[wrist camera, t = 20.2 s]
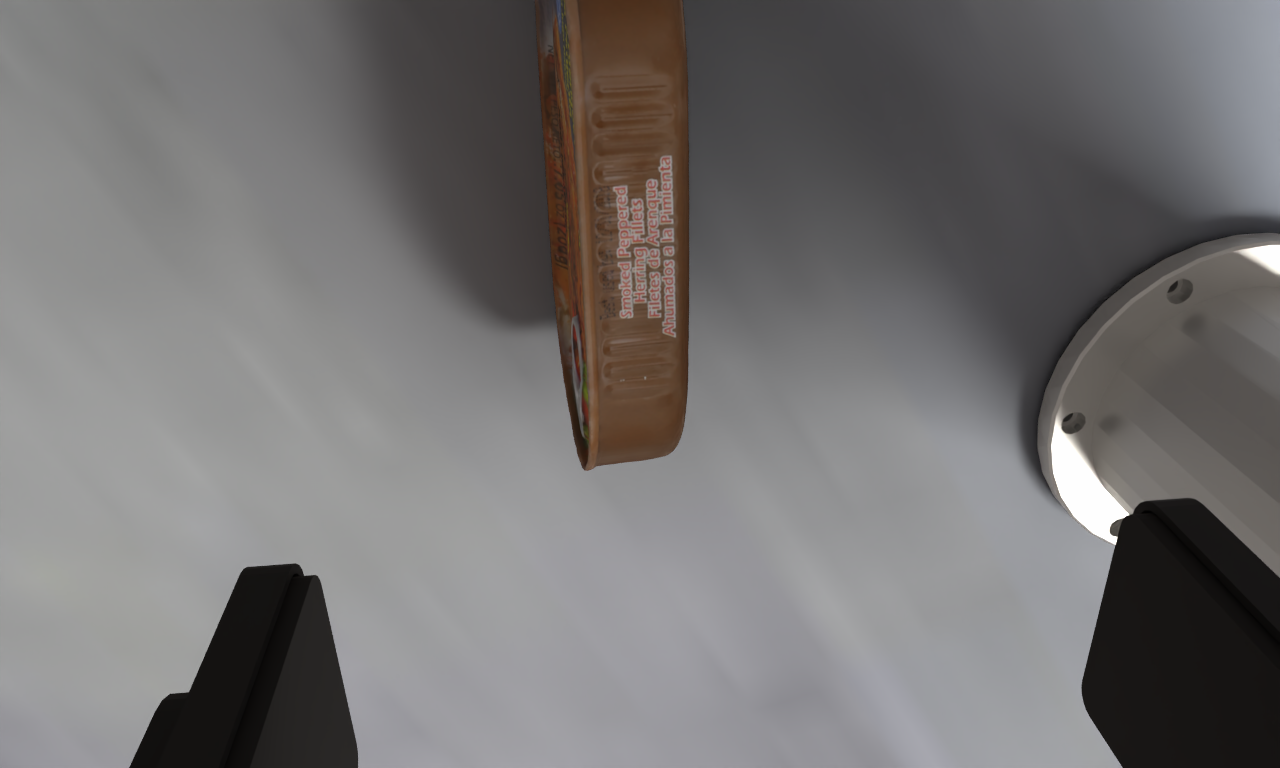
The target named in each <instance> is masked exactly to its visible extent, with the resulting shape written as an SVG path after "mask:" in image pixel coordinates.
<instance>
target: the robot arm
mask: <svg viewBox="0 0 1280 768" xmlns="http://www.w3.org/2000/svg"><path fill="white" fill-rule="evenodd" d="M1037 449H1038V454H1039V458H1040V463H1041V468H1042V473H1043V475H1044V477H1045V479H1046V481H1047V483H1048V485H1049V487H1050V489H1051V491H1052V493H1053V495H1054V496H1055V497H1056V499H1057V500H1058V501H1059V502H1060V504H1061V505H1062V506H1063V507H1064V509H1065V510H1066V511H1067V512H1068V514H1069V515H1070V516H1071V517H1072V518H1073V519H1074V520H1075V521H1076V522H1077V523H1079V524H1080V525H1081V526H1082V527H1083V528H1084V529H1085V530H1087V531H1088V532H1089V533H1090V534H1092V535H1094V536H1096V537H1098V538H1099V539H1101V540H1103V541H1105V542H1107V543H1109V544H1112V545H1115V549H1114V553H1113V557H1112V561H1111V565H1110V570H1109V574H1108V578H1107V582H1106V586H1105V590H1104V594H1103V598H1102V602H1101V606H1100V611H1099V615H1098V619H1097V623H1096V627H1095V631H1094V635H1093V639H1092V643H1091V647H1090V651H1089V656H1088V660H1087V664H1086V668H1085V672H1084V676H1083V680H1082V697H1083V702H1084V705H1085V708H1086V710H1087V712H1088V714H1089V716H1090V718H1091V719H1092V721H1093V722H1094V724H1095V725H1096V727H1097V729H1098V730H1099V732H1100V733H1101V735H1102V736H1103V738H1104V739H1105V741H1106V742H1107V744H1108V746H1109V747H1110V749H1111V750H1112V752H1113V753H1114V755H1115V756H1116V758H1117V759H1118V761H1119V763H1120V764H1121V766H1122V767H1123V768H1280V234H1276V233H1257V234H1241V235H1233V236H1229V237H1225V238H1221V239H1217V240H1213V241H1209V242H1205V243H1201V244H1198V245H1196V246H1194V247H1191V248H1189V249H1187V250H1184V251H1182V252H1180V253H1177V254H1175V255H1172V256H1170V257H1168V258H1166V259H1164V260H1162V261H1161V262H1159V263H1157V264H1156V265H1154V266H1152V267H1151V268H1149V269H1148V270H1146V271H1144V272H1143V273H1141V274H1139V275H1138V276H1136V277H1134V278H1133V279H1132V280H1130V281H1129V282H1128V283H1127V284H1126V285H1124V286H1123V287H1122V288H1121V289H1120V290H1118V291H1117V292H1116V293H1115V294H1113V295H1112V296H1111V297H1110V298H1109V299H1107V300H1106V301H1105V302H1104V303H1103V304H1102V305H1101V306H1100V307H1099V308H1098V309H1097V310H1096V312H1095V313H1094V314H1093V315H1092V316H1091V317H1090V318H1089V319H1088V320H1087V321H1086V323H1085V324H1084V325H1083V326H1082V327H1081V328H1080V329H1079V330H1078V332H1077V333H1076V335H1075V336H1074V338H1073V339H1072V341H1071V342H1070V344H1069V345H1068V347H1067V348H1066V350H1065V351H1064V353H1063V354H1062V356H1061V357H1060V359H1059V361H1058V363H1057V365H1056V367H1055V370H1054V372H1053V374H1052V376H1051V379H1050V381H1049V383H1048V385H1047V387H1046V390H1045V394H1044V398H1043V402H1042V406H1041V410H1040V414H1039V418H1038V440H1037ZM129 768H358V750H357V743H356V739H355V734H354V730H353V725H352V721H351V716H350V712H349V707H348V703H347V698H346V694H345V689H344V685H343V680H342V676H341V671H340V667H339V662H338V658H337V653H336V649H335V644H334V640H333V635H332V630H331V626H330V621H329V617H328V612H327V608H326V603H325V599H324V594H323V590H322V585H321V582H320V579H319V578H318V576H316V575H311V576H304V574H303V571H302V569H301V567H300V566H299V565H298V564H283V565H269V566H256V567H247V568H245V569H243V571H242V572H241V574H240V575H239V578H238V580H237V582H236V585H235V587H234V589H233V592H232V594H231V596H230V599H229V601H228V603H227V606H226V608H225V610H224V613H223V615H222V617H221V620H220V622H219V624H218V626H217V629H216V631H215V633H214V636H213V638H212V640H211V643H210V645H209V647H208V650H207V652H206V654H205V657H204V659H203V661H202V664H201V666H200V668H199V671H198V673H197V675H196V678H195V680H194V682H193V684H192V687H191V689H190V691H189V692H188V693H176V694H169V695H168V696H167V697H166V698H164V699H163V700H162V701H161V703H160V705H159V706H158V708H157V710H156V711H155V713H154V715H153V718H152V720H151V722H150V724H149V726H148V728H147V731H146V733H145V735H144V737H143V739H142V741H141V744H140V746H139V748H138V750H137V752H136V754H135V757H134V759H133V761H132V763H131V765H130V767H129Z"/></svg>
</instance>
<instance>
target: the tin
mask: <svg viewBox="0 0 1280 768" xmlns="http://www.w3.org/2000/svg"><path fill="white" fill-rule="evenodd" d="M535 8H536V30H537V49H538V66H539V80H540V96H541V109H542V125H543V138H544V155H545V169H546V185H547V201H548V217H549V233H550V247H551V261H552V275H553V289H554V297H555V305H556V318H557V329H558V338H559V346H560V354H561V363H562V368H563V376H564V383H565V388H566V395H567V401H568V407H569V412H570V417H571V422H572V429H573V435H574V441H575V445H576V448H577V454H578V457H579V459H580V462H581V465H582V468H583V469H584V470H587V471H588V470H591V469H593V468H594V467H596V466H601V465H608V464H616V463H624V462H633V461H642V460H648V459H654V458H658V457H662V456H666V455H668V454H670V453H671V452H672V451H673V450H674V449H675V448H676V446H677V445H678V443H679V441H680V438H681V435H682V432H683V427H684V421H685V413H686V403H687V390H688V338H689V142H688V72H687V50H686V35H685V22H684V11H683V0H535Z"/></svg>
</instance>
